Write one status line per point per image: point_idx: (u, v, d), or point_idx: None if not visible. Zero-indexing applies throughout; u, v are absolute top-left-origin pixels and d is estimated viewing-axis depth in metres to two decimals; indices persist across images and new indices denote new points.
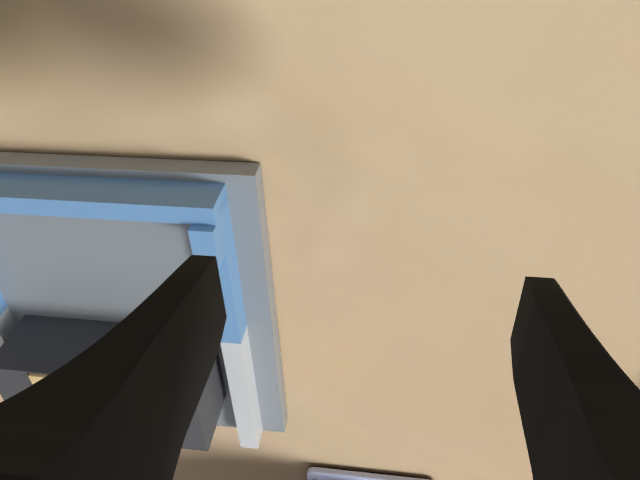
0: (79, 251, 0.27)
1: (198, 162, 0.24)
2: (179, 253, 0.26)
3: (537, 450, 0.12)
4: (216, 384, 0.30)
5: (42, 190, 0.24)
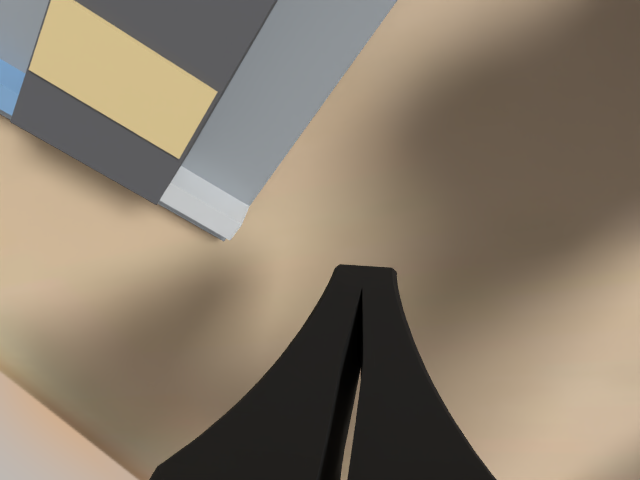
0: None
1: None
2: None
3: None
4: None
5: None
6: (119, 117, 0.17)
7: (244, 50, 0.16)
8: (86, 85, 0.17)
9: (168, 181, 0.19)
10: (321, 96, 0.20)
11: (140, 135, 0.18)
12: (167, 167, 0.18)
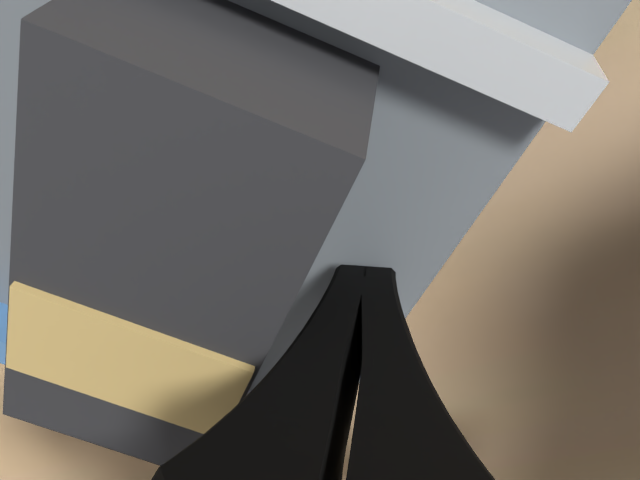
0: None
1: None
2: None
3: None
4: (271, 41, 0.10)
5: None
6: (132, 404, 0.13)
7: (282, 320, 0.11)
8: (81, 377, 0.12)
9: None
10: (408, 301, 0.15)
11: (164, 419, 0.13)
12: None
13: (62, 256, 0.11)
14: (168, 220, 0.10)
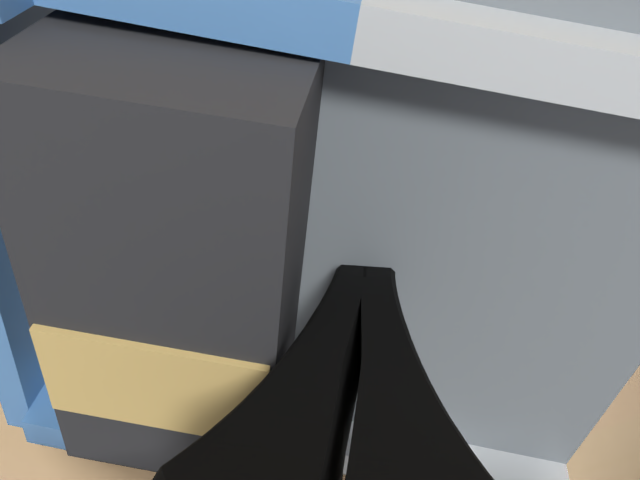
0: None
1: None
2: None
3: None
4: (208, 43, 0.10)
5: None
6: (172, 425, 0.13)
7: (278, 312, 0.11)
8: (118, 406, 0.13)
9: None
10: None
11: None
12: None
13: (63, 291, 0.11)
14: (140, 234, 0.10)
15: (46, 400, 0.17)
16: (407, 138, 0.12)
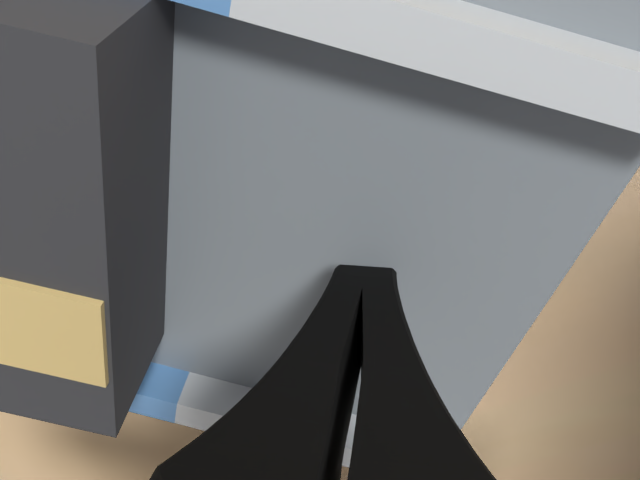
0: None
1: None
2: None
3: None
4: None
5: None
6: (13, 361, 0.13)
7: (104, 243, 0.11)
8: None
9: (112, 411, 0.14)
10: (526, 320, 0.15)
11: (48, 374, 0.13)
12: (101, 396, 0.14)
13: None
14: None
15: None
16: (295, 101, 0.12)
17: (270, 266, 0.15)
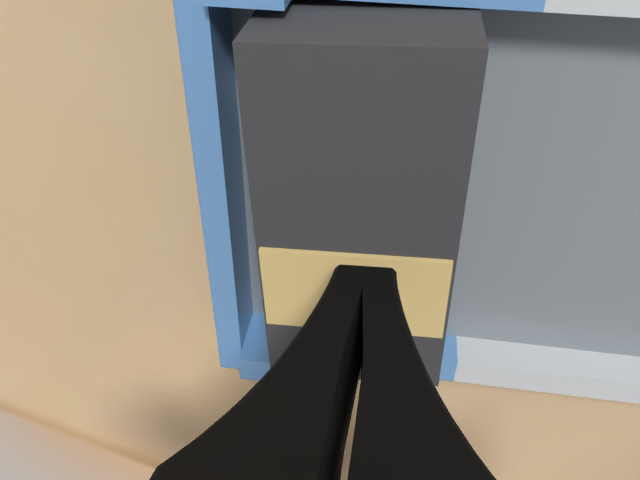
0: None
1: None
2: None
3: None
4: (389, 6, 0.13)
5: None
6: None
7: (463, 209, 0.14)
8: None
9: (440, 361, 0.17)
10: None
11: None
12: (433, 348, 0.16)
13: (289, 213, 0.14)
14: (357, 155, 0.13)
15: (253, 342, 0.20)
16: (573, 74, 0.15)
17: (540, 224, 0.18)
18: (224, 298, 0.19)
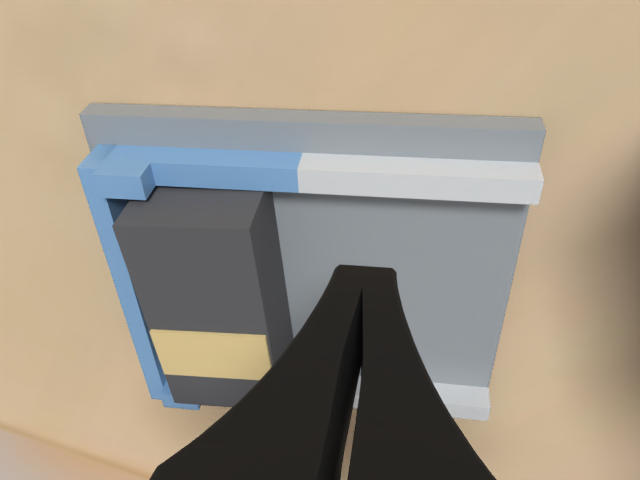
0: None
1: None
2: None
3: None
4: None
5: None
6: (225, 375, 0.25)
7: (262, 307, 0.22)
8: (197, 368, 0.25)
9: None
10: (502, 303, 0.25)
11: (243, 378, 0.25)
12: None
13: (163, 310, 0.23)
14: (194, 280, 0.22)
15: None
16: (339, 215, 0.24)
17: None
18: (145, 354, 0.28)
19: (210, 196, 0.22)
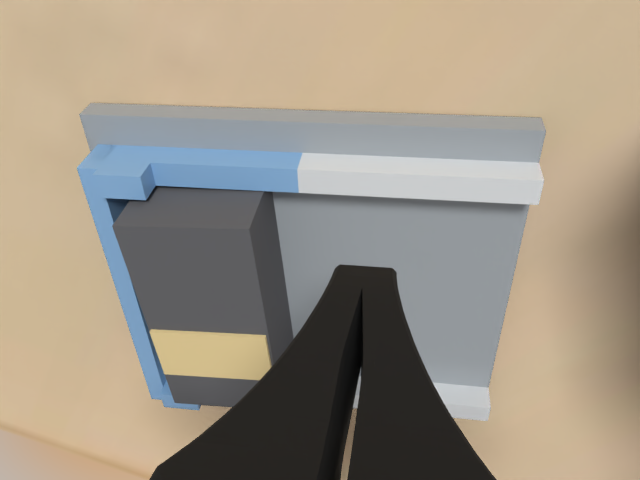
0: None
1: None
2: None
3: None
4: None
5: None
6: (225, 375, 0.25)
7: (262, 307, 0.23)
8: (197, 368, 0.25)
9: None
10: (502, 303, 0.25)
11: (243, 378, 0.25)
12: None
13: (163, 310, 0.23)
14: (194, 280, 0.22)
15: None
16: (339, 215, 0.24)
17: None
18: (145, 354, 0.28)
19: (210, 196, 0.22)
